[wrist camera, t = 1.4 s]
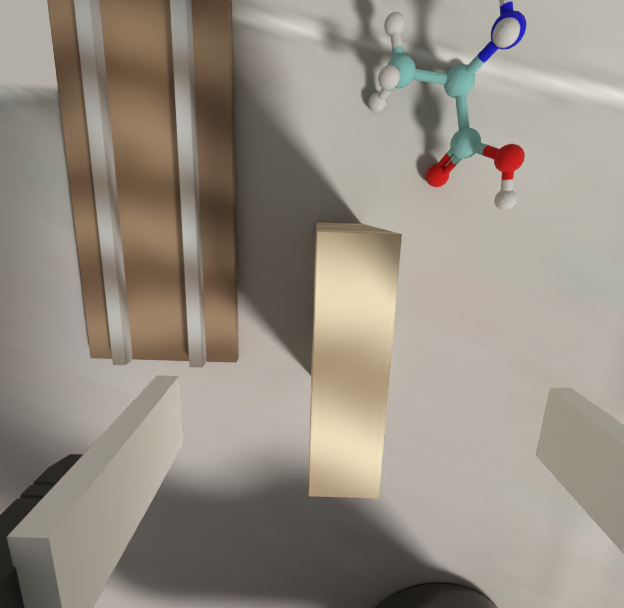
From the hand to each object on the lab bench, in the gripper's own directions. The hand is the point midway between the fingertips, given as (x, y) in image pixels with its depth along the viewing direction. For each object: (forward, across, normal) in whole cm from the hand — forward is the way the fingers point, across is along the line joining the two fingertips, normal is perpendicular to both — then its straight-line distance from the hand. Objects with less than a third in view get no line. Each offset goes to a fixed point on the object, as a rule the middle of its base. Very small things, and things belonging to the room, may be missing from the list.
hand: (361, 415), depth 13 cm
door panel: (+18, 0, 0) cm, 18 cm away
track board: (+18, +14, -8) cm, 24 cm away
